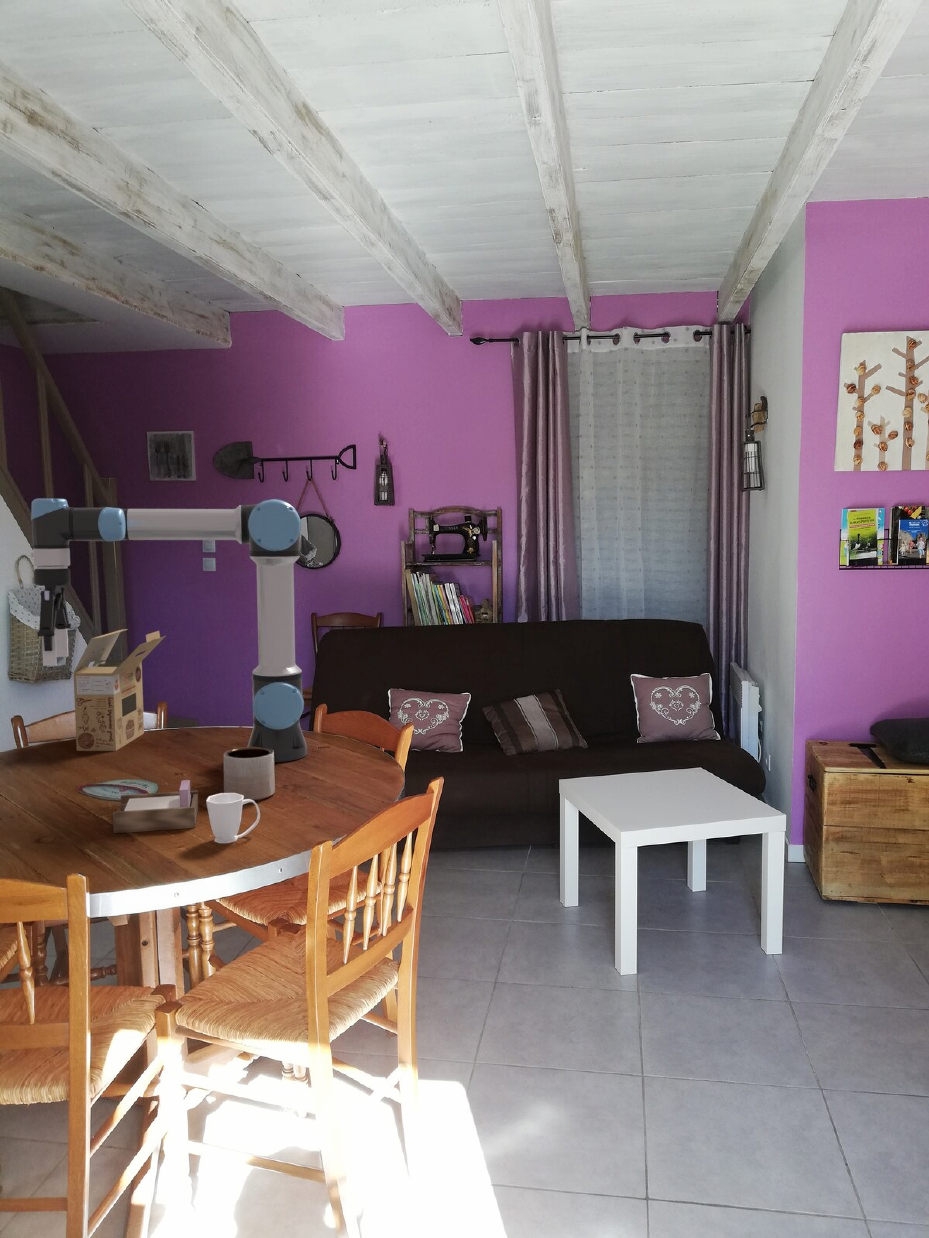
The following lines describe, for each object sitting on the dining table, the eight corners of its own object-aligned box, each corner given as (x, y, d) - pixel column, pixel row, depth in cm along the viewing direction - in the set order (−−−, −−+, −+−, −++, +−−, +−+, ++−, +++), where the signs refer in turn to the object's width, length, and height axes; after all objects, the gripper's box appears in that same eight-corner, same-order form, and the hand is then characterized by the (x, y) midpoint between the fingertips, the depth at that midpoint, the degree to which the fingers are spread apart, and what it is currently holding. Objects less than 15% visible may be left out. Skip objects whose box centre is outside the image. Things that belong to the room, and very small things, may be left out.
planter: (284, 790, 205) (283, 748, 204) (258, 804, 194) (257, 760, 193) (242, 786, 208) (241, 744, 207) (214, 799, 198) (212, 756, 197)
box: (143, 751, 240) (139, 637, 237) (68, 750, 240) (63, 637, 237) (169, 733, 261) (166, 628, 258) (100, 733, 261) (96, 628, 258)
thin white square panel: (191, 798, 189) (190, 778, 189) (188, 813, 180) (187, 791, 180) (129, 802, 187) (128, 781, 186) (123, 817, 177) (122, 795, 177)
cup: (203, 836, 174) (201, 795, 173) (255, 828, 179) (254, 788, 178) (211, 848, 168) (210, 805, 167) (265, 839, 173) (264, 797, 172)
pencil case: (198, 809, 191) (197, 790, 191) (195, 827, 179) (194, 807, 179) (121, 814, 188) (121, 795, 187) (113, 833, 176) (112, 813, 176)
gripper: (45, 565, 218) (49, 654, 220) (20, 570, 194) (25, 669, 196) (79, 565, 219) (83, 653, 222) (58, 570, 195) (63, 668, 197)
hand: (56, 661), depth 209 cm, fingers open, 13 cm apart
